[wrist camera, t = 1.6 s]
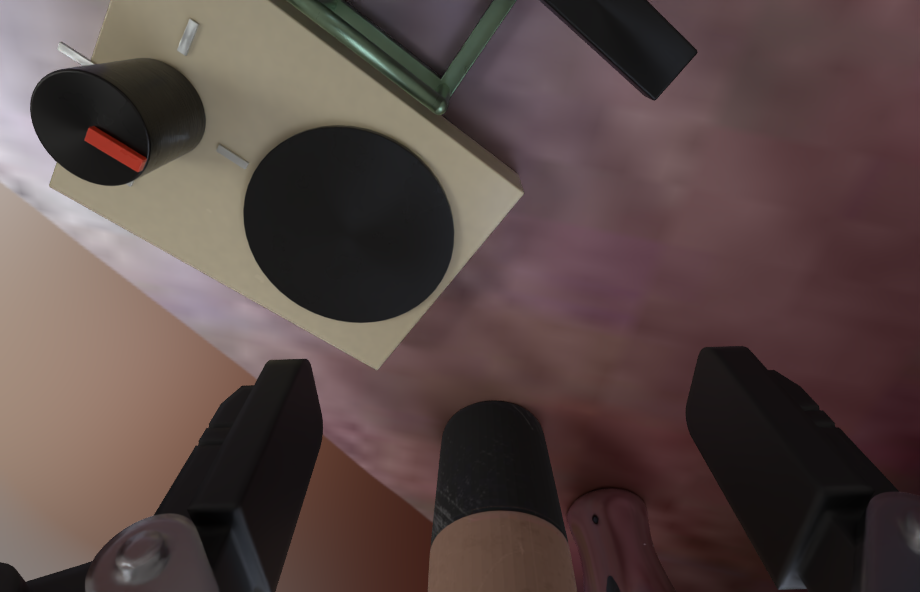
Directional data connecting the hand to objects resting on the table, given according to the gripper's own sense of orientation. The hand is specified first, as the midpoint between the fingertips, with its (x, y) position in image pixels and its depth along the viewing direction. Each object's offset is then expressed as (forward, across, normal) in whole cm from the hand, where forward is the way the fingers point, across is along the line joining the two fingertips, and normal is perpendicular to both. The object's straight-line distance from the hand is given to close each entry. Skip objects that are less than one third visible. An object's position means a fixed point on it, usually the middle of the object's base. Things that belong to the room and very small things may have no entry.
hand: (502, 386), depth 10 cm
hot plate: (+18, +9, 0) cm, 20 cm away
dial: (+15, +13, -4) cm, 20 cm away
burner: (+14, +6, +2) cm, 16 cm away
